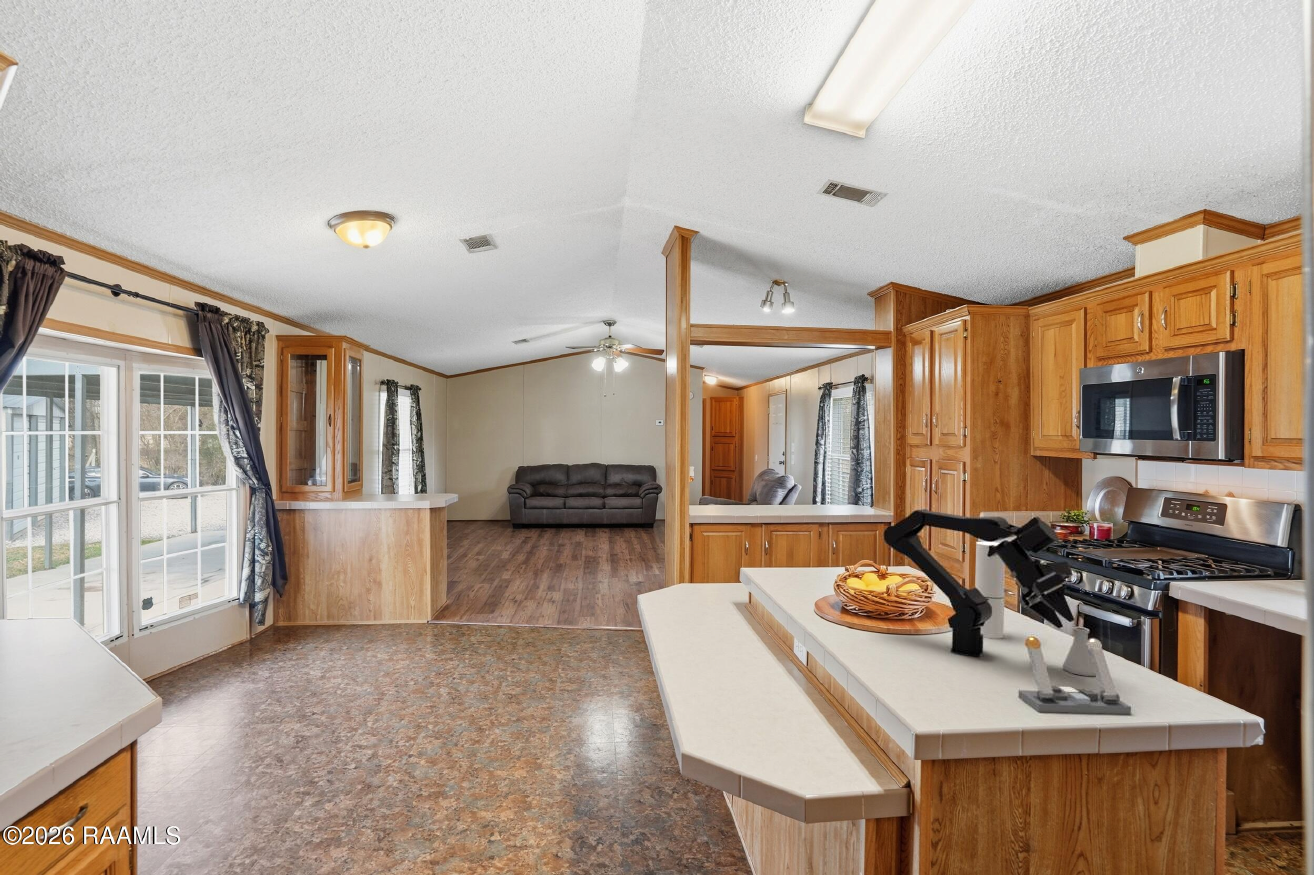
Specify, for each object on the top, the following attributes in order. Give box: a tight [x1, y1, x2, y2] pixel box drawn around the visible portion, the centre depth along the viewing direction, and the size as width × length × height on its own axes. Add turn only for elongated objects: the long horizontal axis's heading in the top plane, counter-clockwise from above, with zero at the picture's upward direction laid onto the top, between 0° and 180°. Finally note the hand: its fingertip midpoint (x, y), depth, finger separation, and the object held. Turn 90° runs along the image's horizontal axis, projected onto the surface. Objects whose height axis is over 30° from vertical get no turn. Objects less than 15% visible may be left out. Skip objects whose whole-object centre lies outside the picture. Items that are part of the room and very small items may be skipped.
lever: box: [1086, 637, 1121, 702], centre depth 130 cm, size 3×3×12 cm
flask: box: [1062, 626, 1096, 677], centre depth 149 cm, size 7×7×10 cm
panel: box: [1018, 685, 1132, 715], centre depth 129 cm, size 7×18×3 cm, turn 90°
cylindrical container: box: [974, 541, 1006, 640], centre depth 176 cm, size 7×7×25 cm
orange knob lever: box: [1024, 636, 1056, 700], centre depth 130 cm, size 3×3×12 cm
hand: (1066, 624), depth 144 cm, fingers open, 9 cm apart
